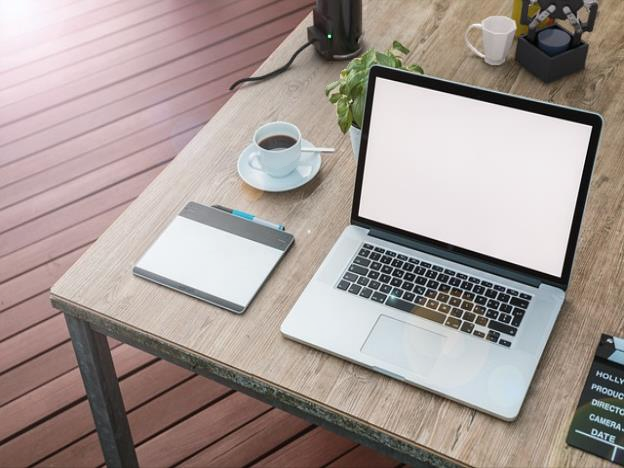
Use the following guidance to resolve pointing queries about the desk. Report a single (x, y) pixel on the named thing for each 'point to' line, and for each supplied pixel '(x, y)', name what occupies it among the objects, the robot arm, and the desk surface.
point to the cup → (495, 38)
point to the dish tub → (553, 66)
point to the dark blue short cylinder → (553, 42)
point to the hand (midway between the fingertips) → (552, 45)
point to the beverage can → (531, 11)
